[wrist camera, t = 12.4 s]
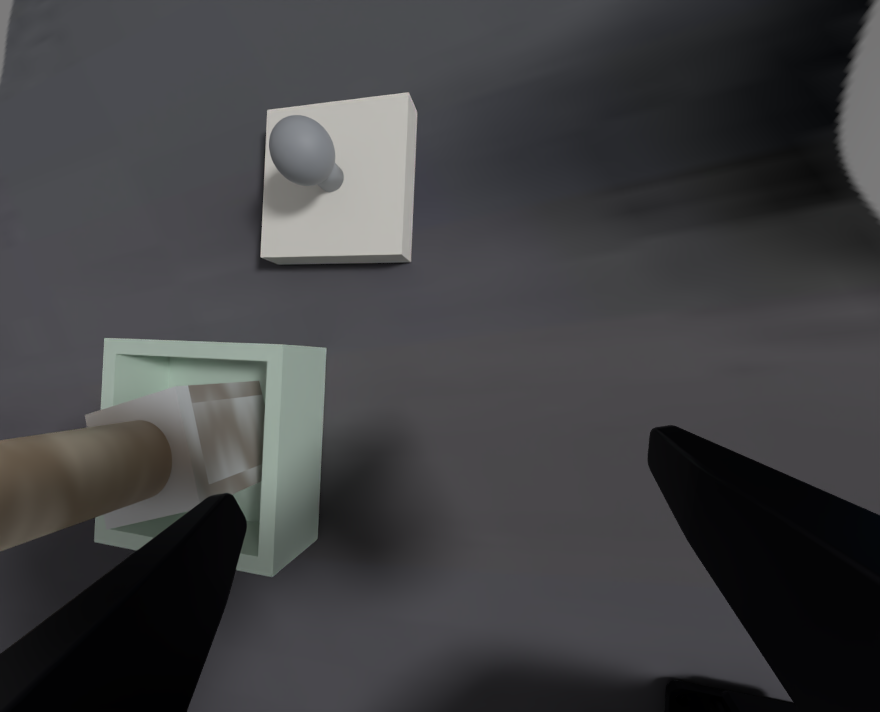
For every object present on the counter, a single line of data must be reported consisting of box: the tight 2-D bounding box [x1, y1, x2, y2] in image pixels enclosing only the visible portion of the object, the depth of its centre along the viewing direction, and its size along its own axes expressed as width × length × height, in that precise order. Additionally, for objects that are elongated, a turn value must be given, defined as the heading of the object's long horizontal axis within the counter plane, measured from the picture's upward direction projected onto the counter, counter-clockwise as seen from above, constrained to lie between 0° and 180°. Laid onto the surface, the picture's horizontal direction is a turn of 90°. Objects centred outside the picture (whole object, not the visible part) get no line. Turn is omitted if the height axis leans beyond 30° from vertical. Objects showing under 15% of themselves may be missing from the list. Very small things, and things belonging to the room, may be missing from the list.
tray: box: [94, 338, 326, 577], centre depth 20 cm, size 11×11×4 cm
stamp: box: [0, 381, 265, 551], centre depth 15 cm, size 5×5×12 cm
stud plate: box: [260, 92, 417, 265], centre depth 18 cm, size 8×8×5 cm
